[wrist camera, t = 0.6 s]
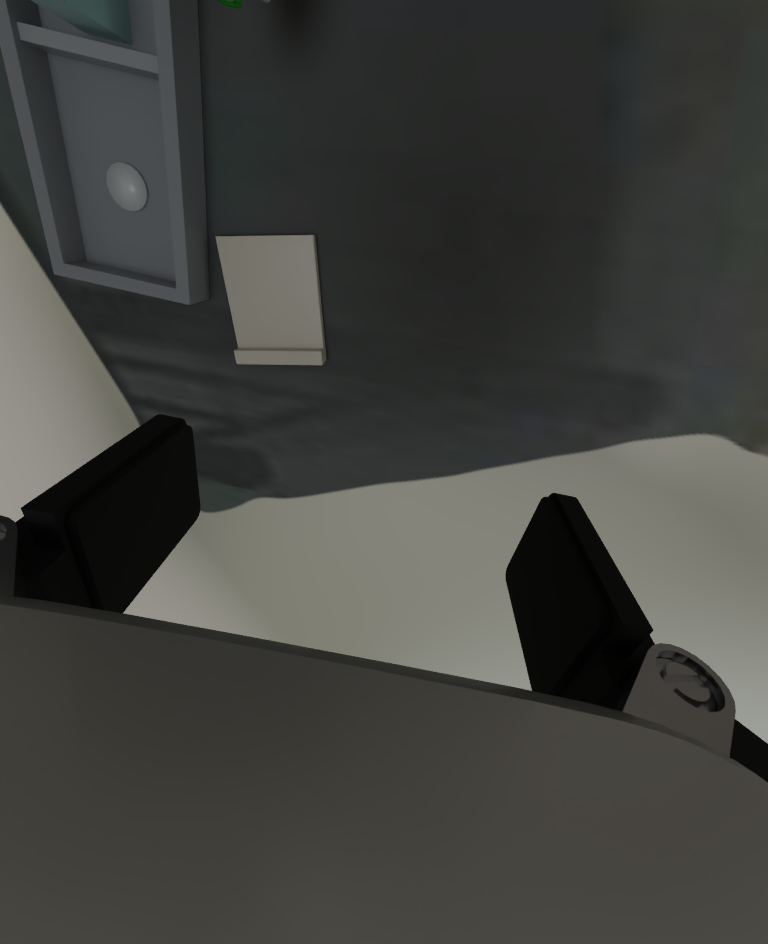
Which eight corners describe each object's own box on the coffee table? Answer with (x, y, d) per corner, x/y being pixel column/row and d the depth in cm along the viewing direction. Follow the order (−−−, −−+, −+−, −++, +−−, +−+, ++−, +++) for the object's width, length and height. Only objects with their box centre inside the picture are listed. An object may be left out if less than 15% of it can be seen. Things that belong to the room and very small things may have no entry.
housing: (-7, -209, 21) (-196, -405, 15) (190, -157, 22) (91, -325, 15) (86, 270, 34) (7, 279, 27) (209, 298, 34) (160, 313, 28)
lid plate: (219, 236, 32) (209, 236, 30) (315, 235, 31) (309, 234, 29) (244, 358, 37) (236, 364, 35) (326, 359, 36) (322, 365, 35)
